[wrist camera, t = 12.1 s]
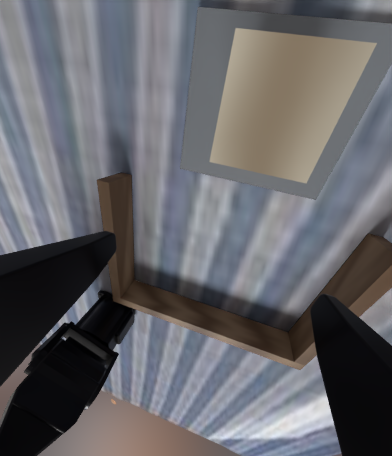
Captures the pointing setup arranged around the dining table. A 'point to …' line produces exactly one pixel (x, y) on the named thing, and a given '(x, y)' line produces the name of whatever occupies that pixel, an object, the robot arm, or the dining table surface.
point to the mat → (216, 75)
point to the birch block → (284, 100)
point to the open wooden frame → (225, 321)
